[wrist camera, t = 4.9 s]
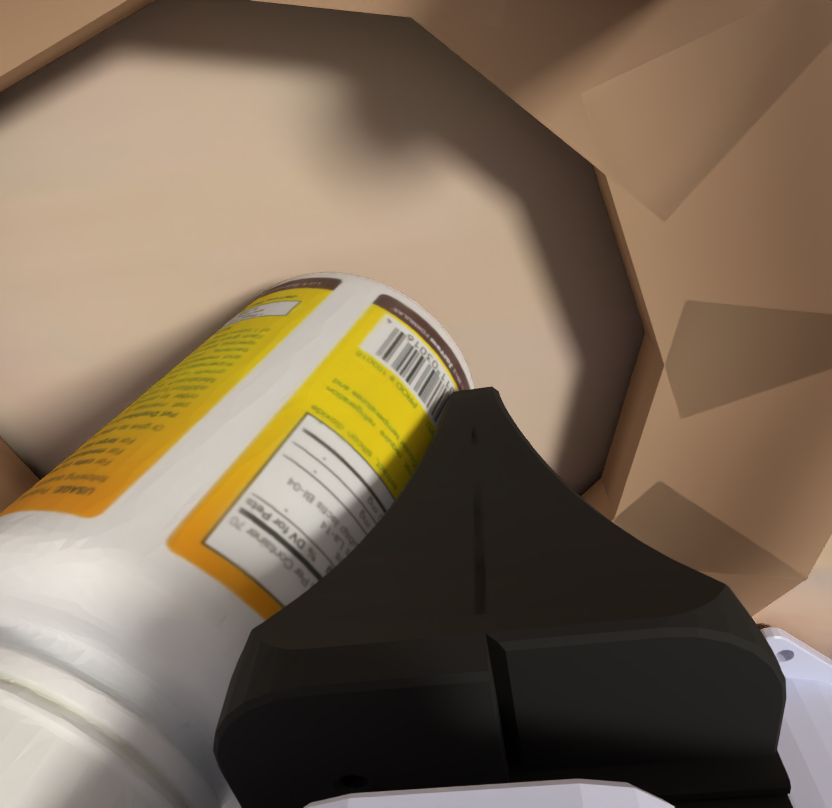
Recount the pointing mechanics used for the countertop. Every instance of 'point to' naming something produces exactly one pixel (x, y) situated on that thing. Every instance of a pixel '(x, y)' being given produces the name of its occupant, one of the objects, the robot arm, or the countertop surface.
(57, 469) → the supplement bottle
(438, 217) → the countertop surface
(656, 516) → the faceted tan ring
